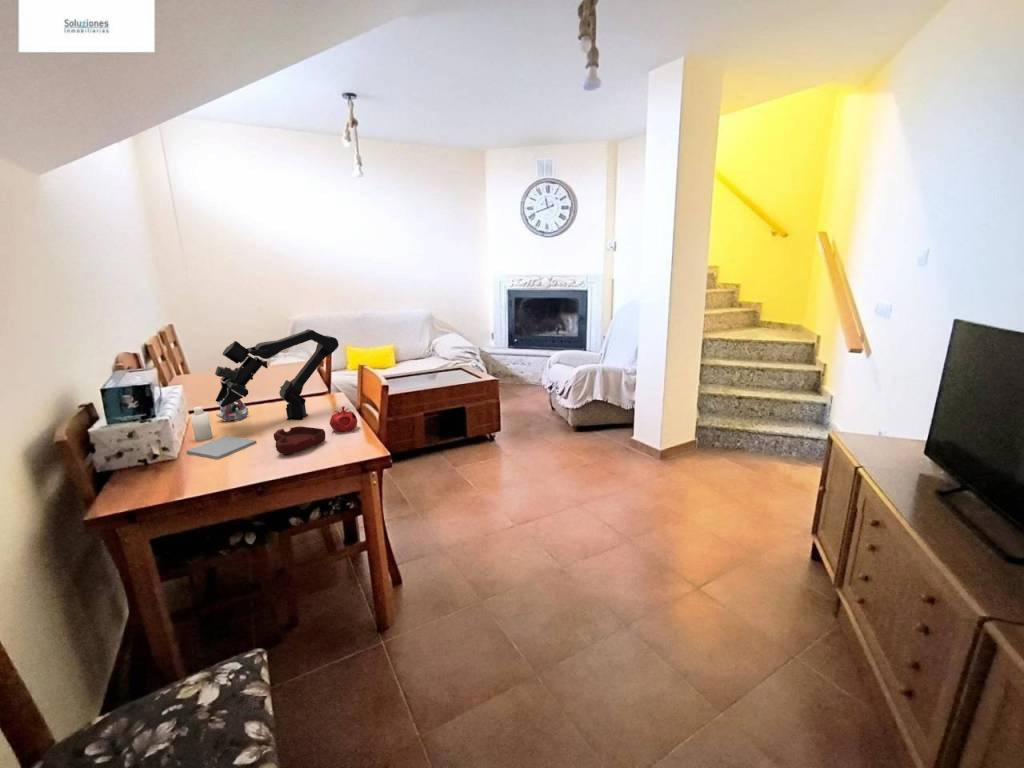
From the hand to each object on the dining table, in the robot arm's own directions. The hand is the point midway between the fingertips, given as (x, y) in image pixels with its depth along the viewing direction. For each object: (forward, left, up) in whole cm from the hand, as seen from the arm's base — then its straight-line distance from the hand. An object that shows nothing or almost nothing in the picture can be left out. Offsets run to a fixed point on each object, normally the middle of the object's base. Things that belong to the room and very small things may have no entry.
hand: (219, 404), depth 175 cm
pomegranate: (-45, -3, -12) cm, 47 cm away
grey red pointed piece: (+7, -18, -12) cm, 23 cm away
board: (-8, +14, -12) cm, 20 cm away
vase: (+5, +4, -12) cm, 14 cm away
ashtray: (-35, +13, -12) cm, 40 cm away
